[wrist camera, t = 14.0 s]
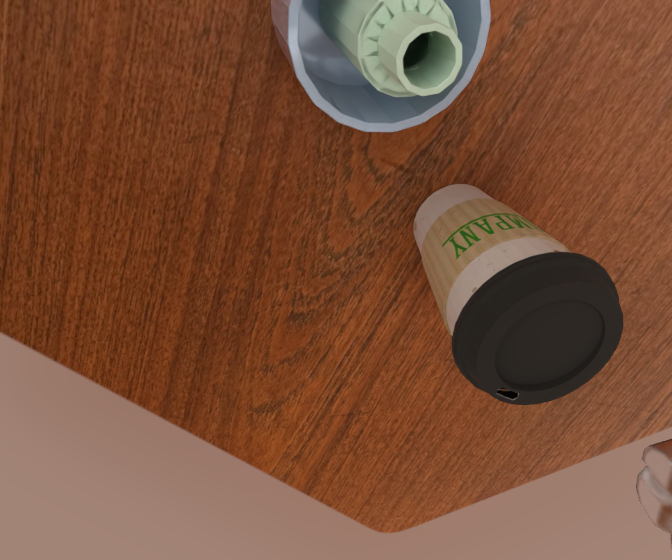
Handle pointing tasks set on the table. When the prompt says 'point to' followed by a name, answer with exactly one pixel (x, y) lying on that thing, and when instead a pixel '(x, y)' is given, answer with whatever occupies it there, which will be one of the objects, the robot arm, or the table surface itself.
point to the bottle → (396, 42)
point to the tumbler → (348, 82)
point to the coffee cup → (515, 298)
